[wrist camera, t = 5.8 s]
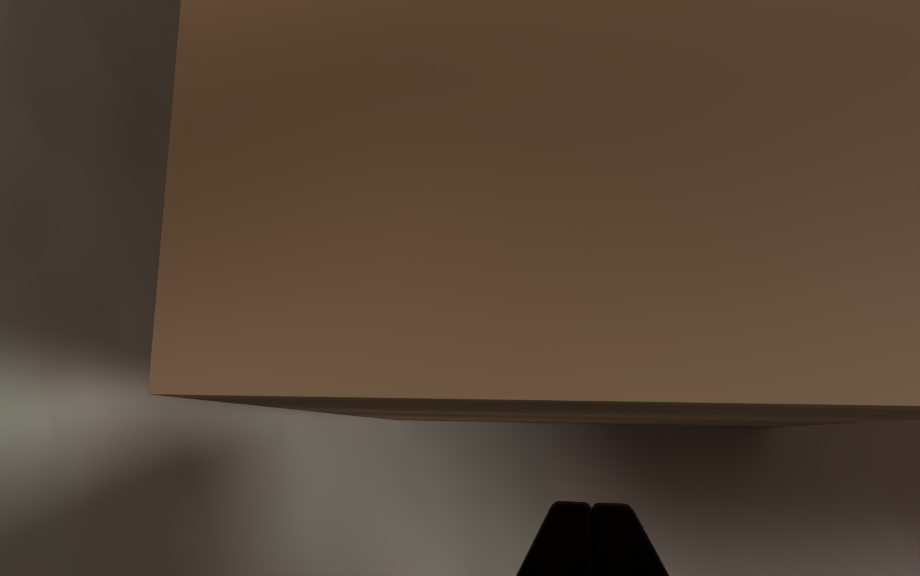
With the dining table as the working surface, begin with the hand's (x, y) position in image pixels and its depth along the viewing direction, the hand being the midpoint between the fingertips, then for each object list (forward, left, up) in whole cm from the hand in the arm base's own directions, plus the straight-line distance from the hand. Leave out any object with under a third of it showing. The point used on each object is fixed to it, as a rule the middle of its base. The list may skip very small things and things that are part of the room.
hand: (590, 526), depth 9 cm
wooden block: (+9, +2, -7) cm, 11 cm away
